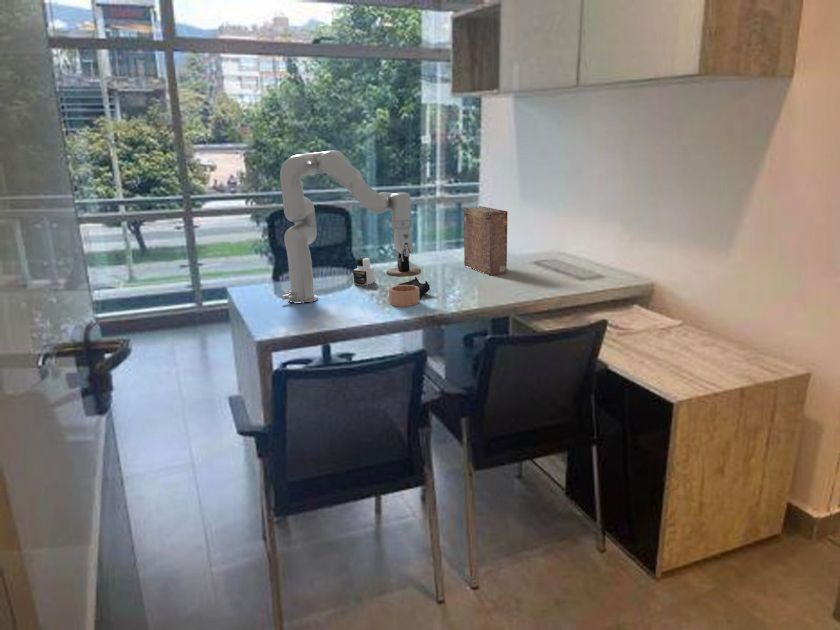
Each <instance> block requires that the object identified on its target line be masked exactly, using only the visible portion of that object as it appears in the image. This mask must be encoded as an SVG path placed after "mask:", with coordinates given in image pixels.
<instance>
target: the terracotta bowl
mask: <svg viewBox="0 0 840 630" xmlns="http://www.w3.org/2000/svg"><path fill="white" fill-rule="evenodd" d="M388 302H389V304H390V305H391V306H393V307H400V308H402V307H413V306H416V305H418V304H420V297H419V287H417V286H414V285H398V284H397V285H394V286H390V287H389V288H388Z"/></svg>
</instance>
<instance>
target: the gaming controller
mask: <svg viewBox="0 0 840 630" xmlns="http://www.w3.org/2000/svg"><path fill="white" fill-rule="evenodd" d="M397 285H414V286H417V287H419V298H420V297H423V296H424V295H425V294H427V293H429V291H430V290H431V287H430V284H429V283H428V281H427V280H425V281H424V283H422V282H420V281H419V279H418V278H417V277H416V276H415V277H414V278H413V279H411V280H409V281H405V282H401V283H399V284H397Z"/></svg>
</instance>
